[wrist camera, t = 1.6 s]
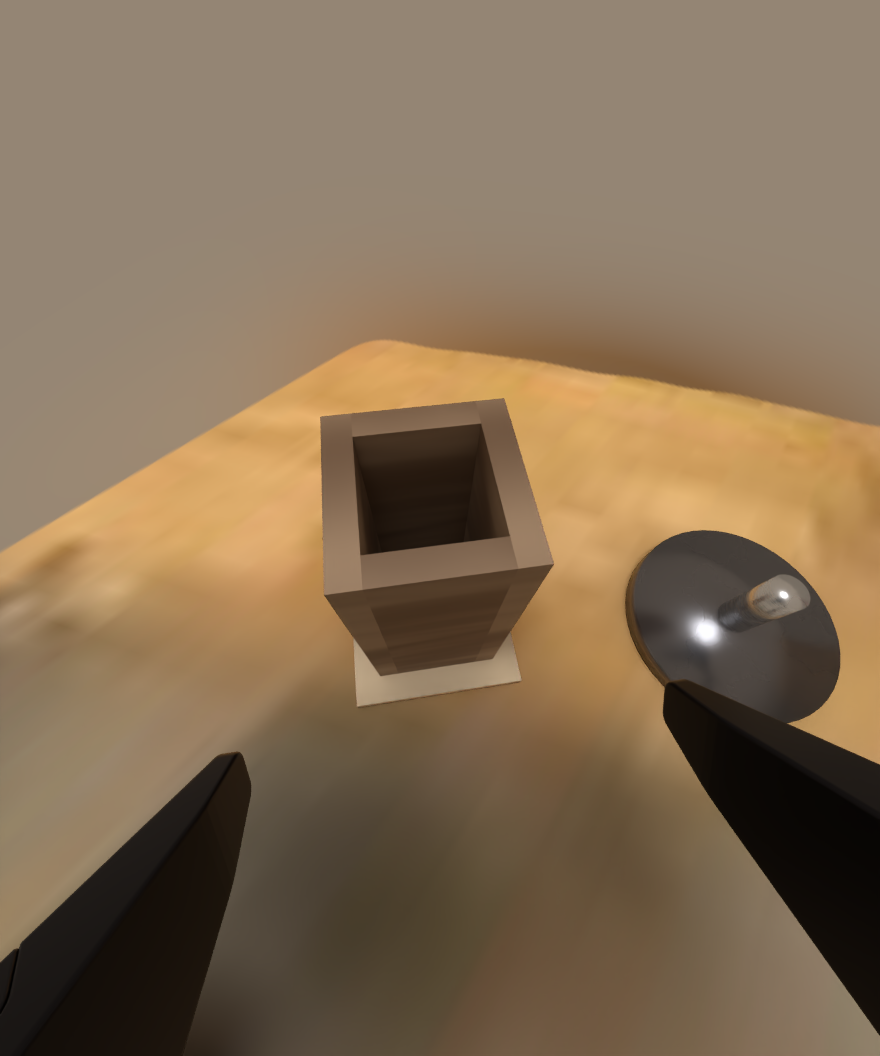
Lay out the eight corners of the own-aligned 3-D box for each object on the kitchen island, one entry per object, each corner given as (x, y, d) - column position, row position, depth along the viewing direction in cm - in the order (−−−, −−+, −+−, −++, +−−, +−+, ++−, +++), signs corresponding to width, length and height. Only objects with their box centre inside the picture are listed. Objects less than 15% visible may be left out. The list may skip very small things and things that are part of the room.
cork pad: (519, 681, 21) (521, 680, 20) (358, 707, 20) (357, 706, 20) (487, 539, 25) (488, 535, 24) (350, 557, 24) (349, 553, 23)
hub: (855, 638, 22) (961, 610, 18) (751, 774, 19) (847, 781, 15) (696, 510, 26) (751, 460, 21) (587, 608, 23) (624, 573, 18)
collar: (492, 659, 21) (554, 564, 10) (380, 676, 20) (323, 595, 10) (471, 557, 23) (504, 398, 13) (371, 570, 23) (320, 416, 12)
